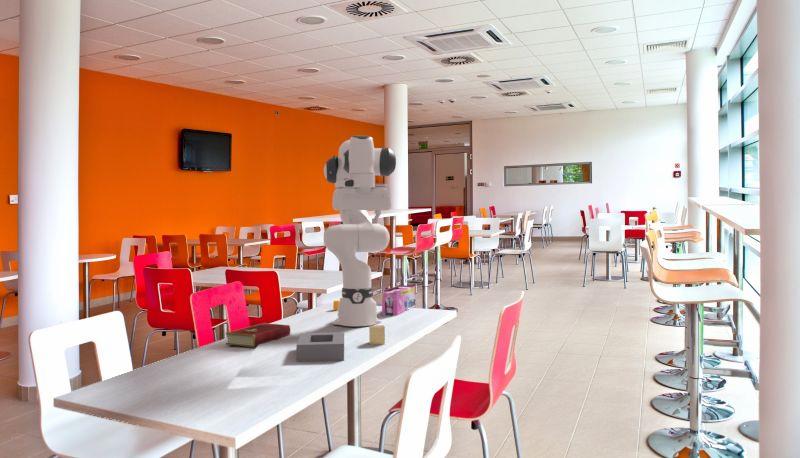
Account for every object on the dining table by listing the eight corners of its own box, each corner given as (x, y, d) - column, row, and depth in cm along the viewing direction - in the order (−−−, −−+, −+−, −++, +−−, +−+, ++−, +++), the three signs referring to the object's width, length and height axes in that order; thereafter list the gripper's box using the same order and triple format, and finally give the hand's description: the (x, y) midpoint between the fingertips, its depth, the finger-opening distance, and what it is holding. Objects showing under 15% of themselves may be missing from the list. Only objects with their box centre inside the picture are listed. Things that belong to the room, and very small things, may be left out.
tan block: (369, 343, 199) (369, 325, 199) (384, 342, 199) (383, 325, 199) (369, 345, 195) (369, 327, 195) (384, 345, 195) (384, 327, 195)
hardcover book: (290, 335, 215) (290, 324, 215) (254, 347, 196) (254, 334, 196) (263, 333, 220) (263, 322, 220) (225, 344, 200) (225, 332, 200)
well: (301, 348, 191) (301, 333, 191) (344, 347, 192) (344, 332, 192) (296, 361, 173) (296, 344, 173) (344, 360, 174) (343, 343, 174)
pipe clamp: (337, 311, 270) (337, 297, 270) (346, 311, 269) (346, 297, 269) (329, 315, 258) (329, 301, 258) (339, 315, 258) (339, 301, 258)
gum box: (396, 322, 240) (396, 291, 240) (380, 320, 243) (379, 290, 243) (416, 313, 261) (416, 285, 261) (401, 313, 264) (400, 285, 264)
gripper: (385, 184, 204) (385, 223, 205) (330, 182, 195) (330, 224, 195) (393, 183, 199) (393, 223, 199) (337, 181, 189) (337, 224, 190)
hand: (362, 224), depth 197 cm, fingers open, 8 cm apart
